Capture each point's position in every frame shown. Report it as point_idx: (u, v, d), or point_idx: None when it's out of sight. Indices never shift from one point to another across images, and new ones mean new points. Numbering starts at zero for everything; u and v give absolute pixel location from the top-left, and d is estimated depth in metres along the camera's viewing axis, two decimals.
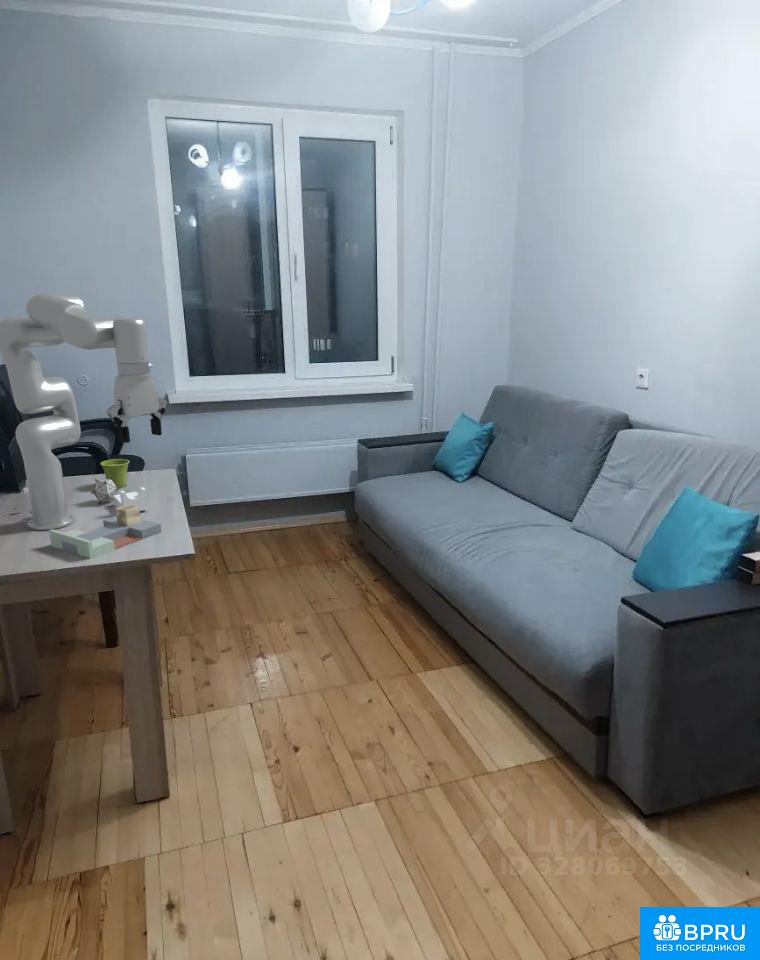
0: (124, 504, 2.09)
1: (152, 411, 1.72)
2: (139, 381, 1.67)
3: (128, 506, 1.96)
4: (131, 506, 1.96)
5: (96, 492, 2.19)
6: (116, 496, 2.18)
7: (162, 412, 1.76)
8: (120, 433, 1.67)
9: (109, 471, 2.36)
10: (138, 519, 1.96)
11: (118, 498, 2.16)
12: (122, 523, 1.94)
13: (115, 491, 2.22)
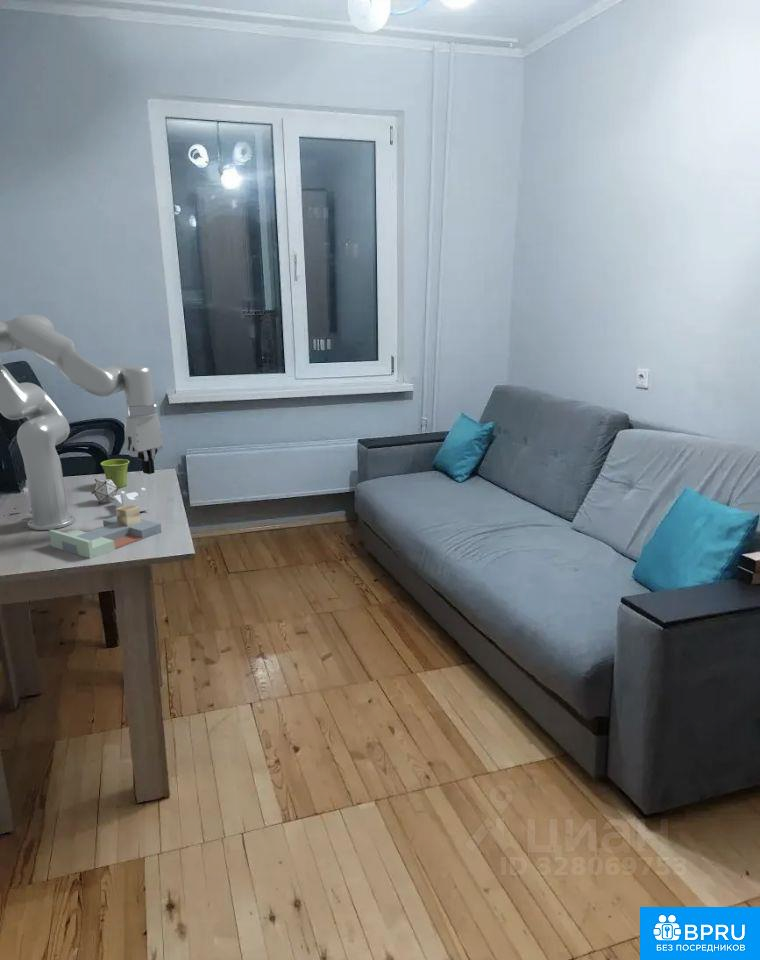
0: (124, 505, 2.09)
1: (157, 445, 1.98)
2: (146, 420, 1.93)
3: (128, 506, 1.96)
4: (131, 506, 1.96)
5: (96, 492, 2.19)
6: (116, 496, 2.18)
7: (154, 452, 1.99)
8: (143, 466, 1.97)
9: (109, 471, 2.36)
10: (138, 519, 1.96)
11: (118, 498, 2.16)
12: (122, 523, 1.94)
13: (115, 491, 2.22)
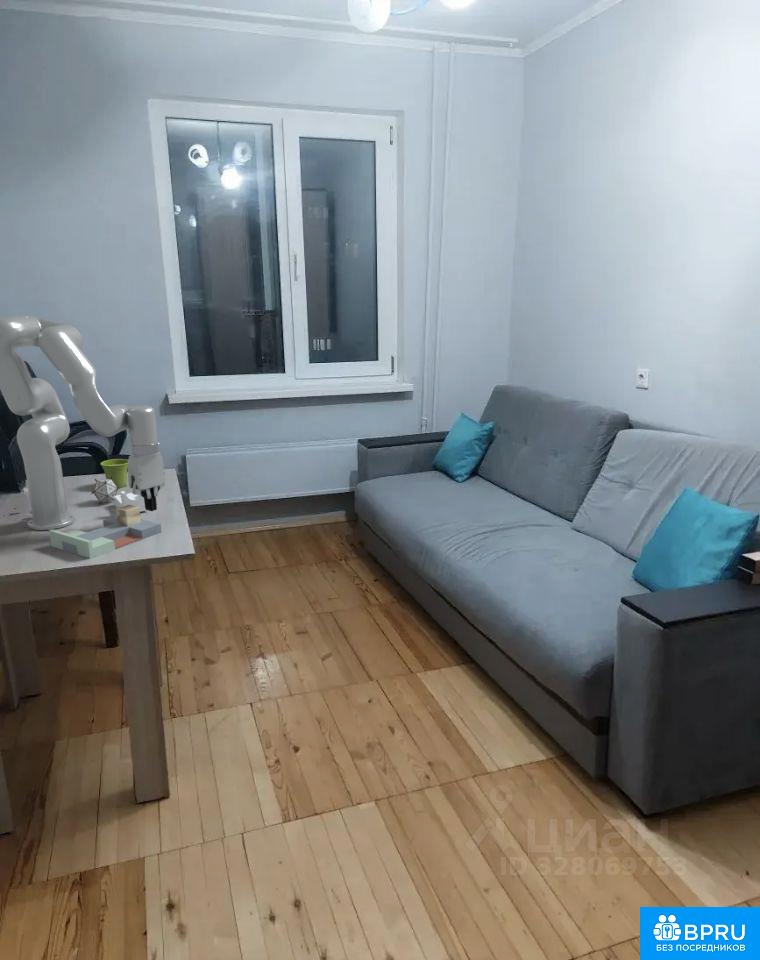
0: (124, 505, 2.09)
1: (160, 483, 2.01)
2: (149, 459, 1.96)
3: (128, 506, 1.96)
4: (131, 506, 1.96)
5: (96, 492, 2.19)
6: (116, 497, 2.18)
7: None
8: (146, 503, 2.00)
9: (109, 471, 2.36)
10: (138, 519, 1.96)
11: (118, 499, 2.16)
12: (122, 523, 1.94)
13: (115, 491, 2.22)
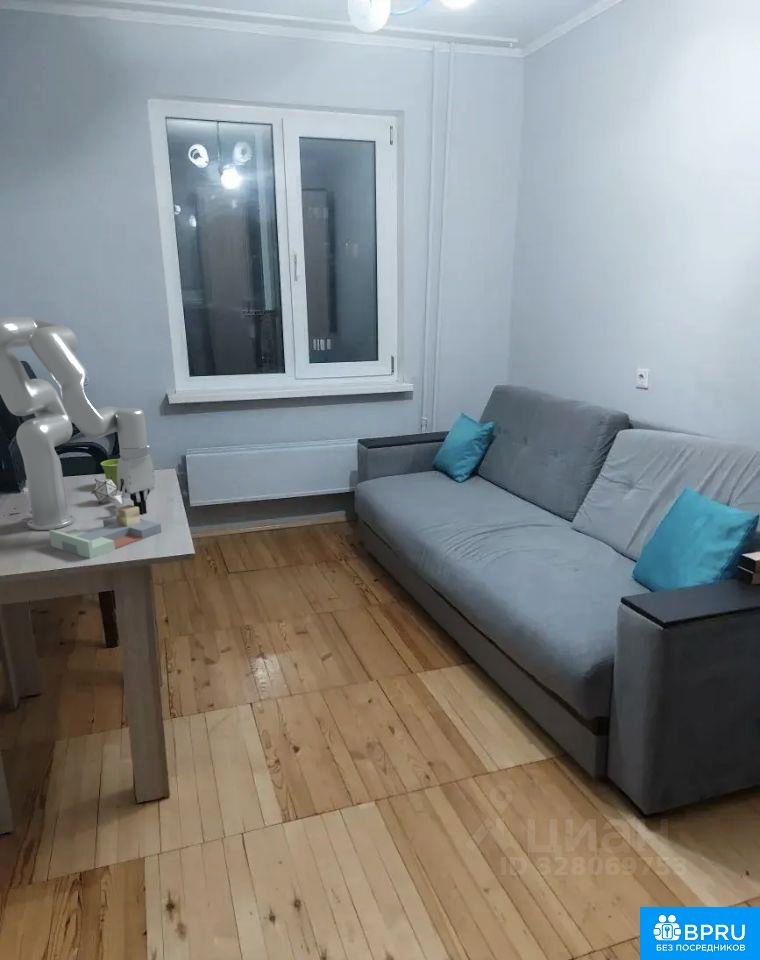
0: (125, 505, 2.09)
1: (150, 486, 1.98)
2: (138, 462, 1.93)
3: (128, 506, 1.96)
4: (131, 506, 1.96)
5: (96, 492, 2.19)
6: (117, 497, 2.18)
7: (147, 493, 1.99)
8: None
9: (109, 471, 2.36)
10: (138, 519, 1.96)
11: (119, 499, 2.16)
12: (122, 523, 1.94)
13: (115, 491, 2.22)
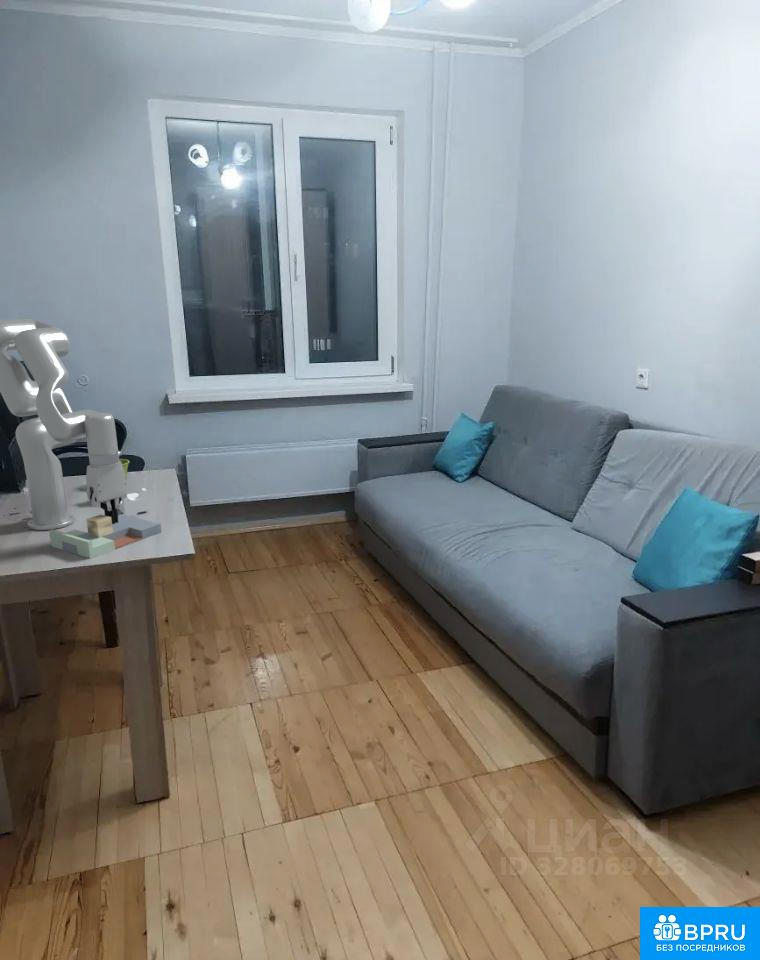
0: (125, 505, 2.08)
1: (121, 494, 1.90)
2: (109, 469, 1.85)
3: (99, 516, 1.88)
4: (103, 516, 1.88)
5: None
6: None
7: (118, 501, 1.91)
8: None
9: None
10: (110, 530, 1.87)
11: None
12: (93, 534, 1.86)
13: None
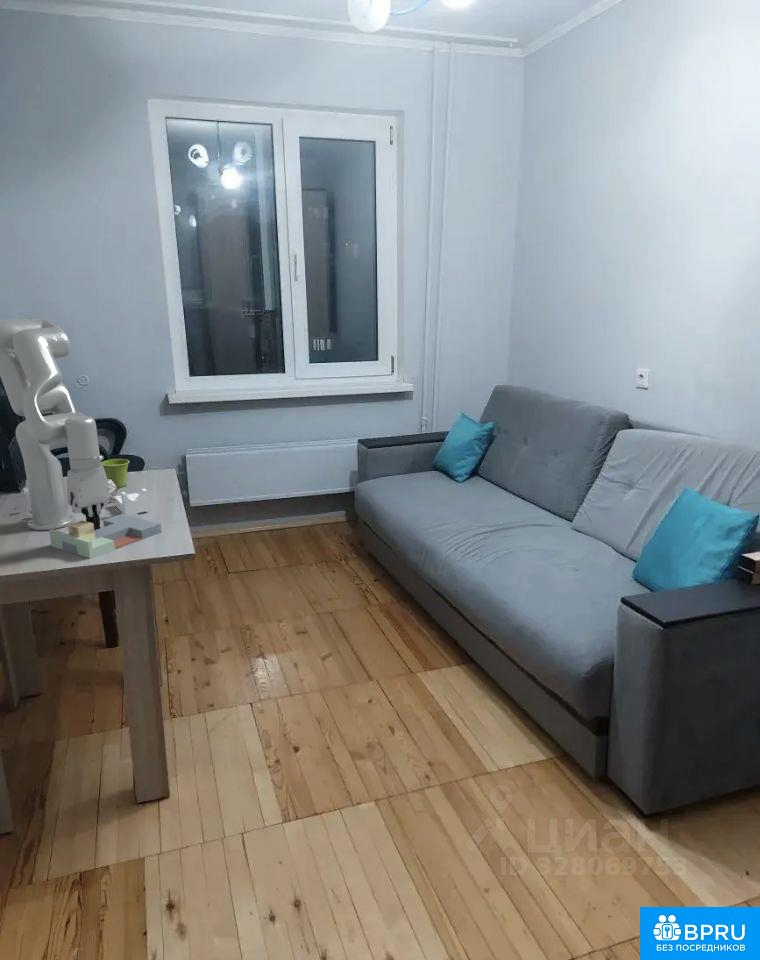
0: (125, 505, 2.08)
1: (103, 499, 1.85)
2: (90, 474, 1.80)
3: (81, 522, 1.83)
4: (84, 522, 1.83)
5: None
6: (117, 497, 2.17)
7: (100, 507, 1.86)
8: None
9: (109, 471, 2.36)
10: (92, 536, 1.83)
11: (119, 499, 2.15)
12: None
13: (115, 491, 2.22)
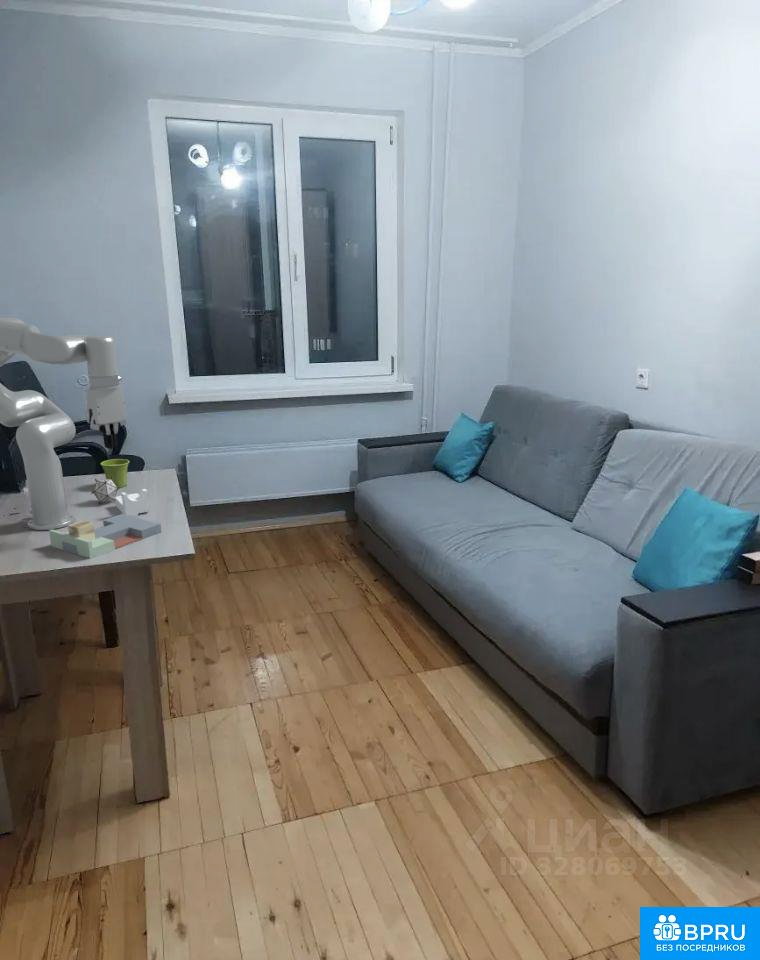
0: (125, 506, 2.08)
1: (120, 419, 1.91)
2: (108, 392, 1.86)
3: (81, 522, 1.83)
4: (84, 522, 1.83)
5: (96, 492, 2.19)
6: (117, 498, 2.17)
7: (117, 427, 1.92)
8: (105, 440, 1.90)
9: (109, 471, 2.36)
10: (92, 536, 1.83)
11: (119, 500, 2.15)
12: None
13: (115, 491, 2.22)
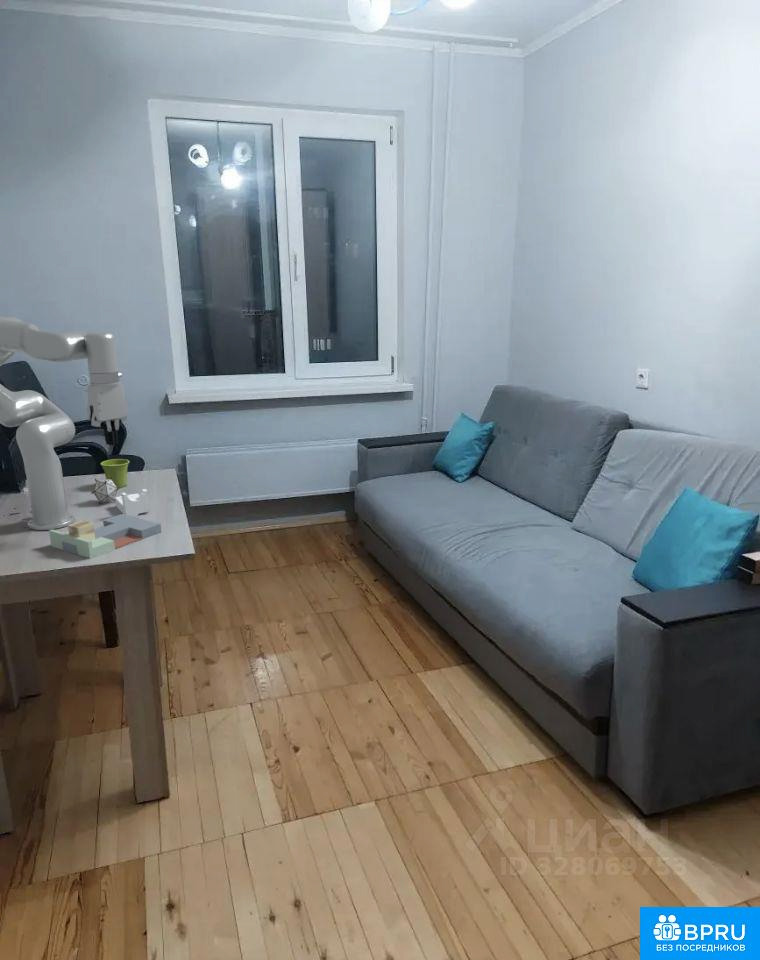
0: (126, 506, 2.07)
1: (121, 416, 1.91)
2: (109, 388, 1.86)
3: (81, 522, 1.83)
4: (84, 522, 1.83)
5: (96, 492, 2.19)
6: (118, 498, 2.17)
7: (118, 423, 1.92)
8: (106, 437, 1.90)
9: (109, 471, 2.36)
10: (92, 536, 1.83)
11: (120, 500, 2.14)
12: None
13: (115, 491, 2.22)
